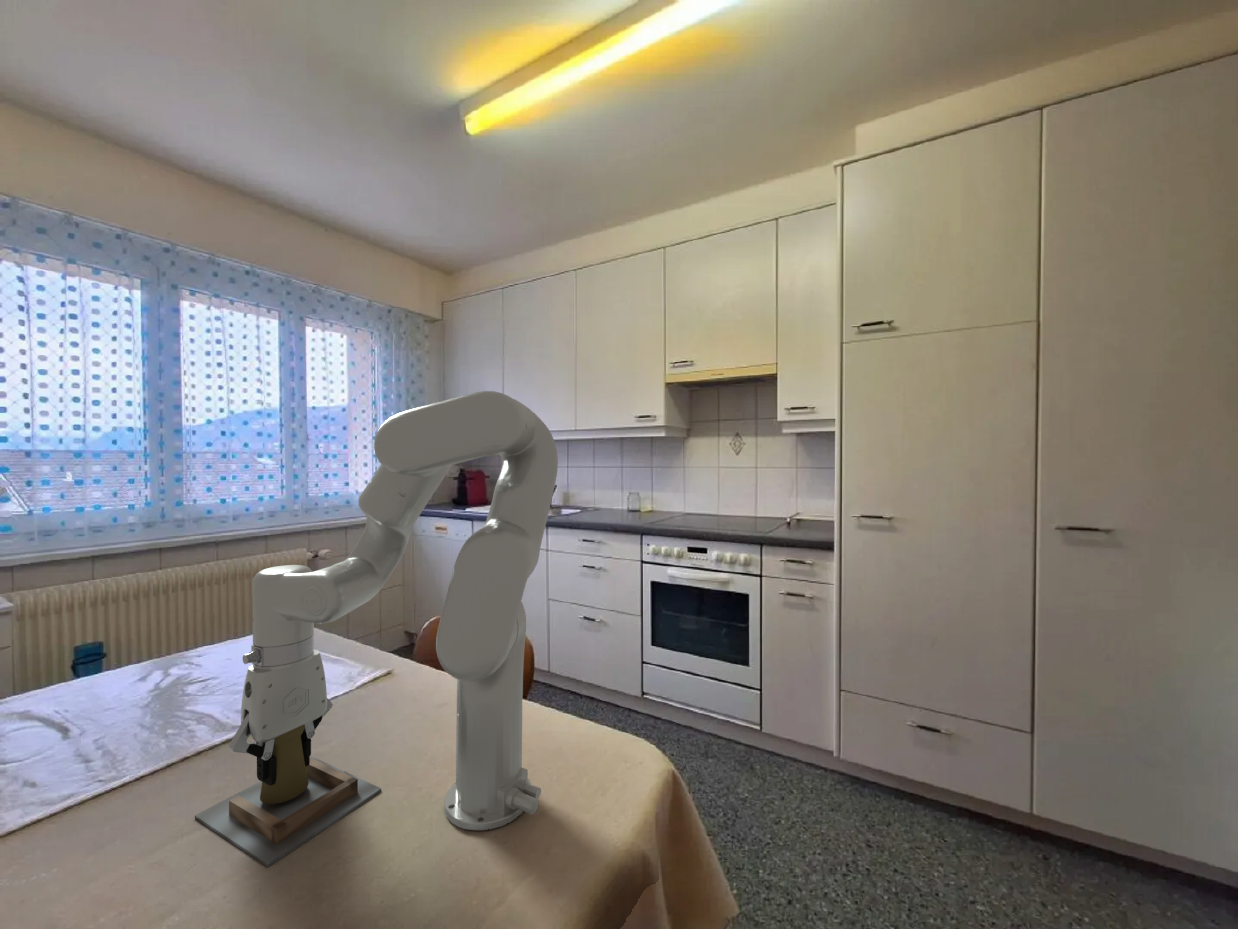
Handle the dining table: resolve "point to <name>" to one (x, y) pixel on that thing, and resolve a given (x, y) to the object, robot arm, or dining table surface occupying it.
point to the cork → (287, 769)
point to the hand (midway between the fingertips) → (285, 771)
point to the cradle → (287, 813)
